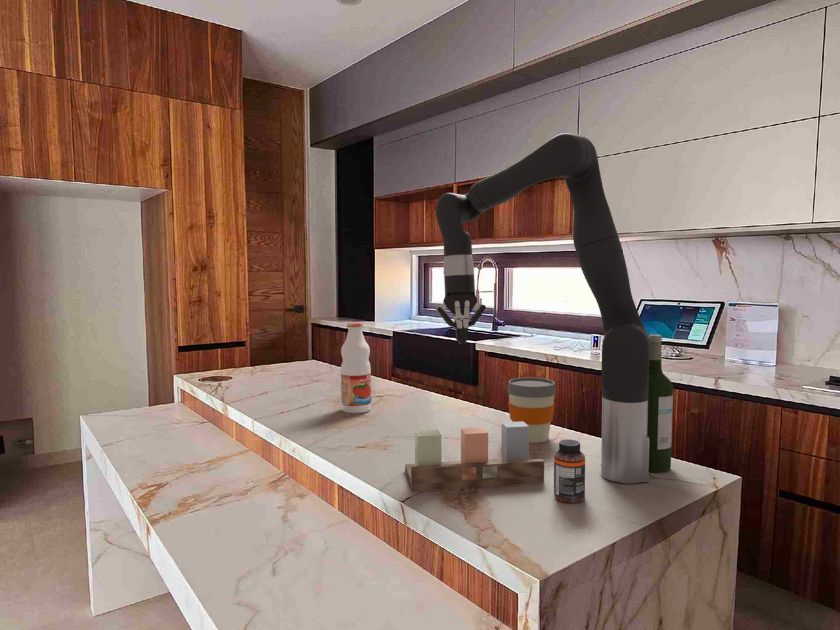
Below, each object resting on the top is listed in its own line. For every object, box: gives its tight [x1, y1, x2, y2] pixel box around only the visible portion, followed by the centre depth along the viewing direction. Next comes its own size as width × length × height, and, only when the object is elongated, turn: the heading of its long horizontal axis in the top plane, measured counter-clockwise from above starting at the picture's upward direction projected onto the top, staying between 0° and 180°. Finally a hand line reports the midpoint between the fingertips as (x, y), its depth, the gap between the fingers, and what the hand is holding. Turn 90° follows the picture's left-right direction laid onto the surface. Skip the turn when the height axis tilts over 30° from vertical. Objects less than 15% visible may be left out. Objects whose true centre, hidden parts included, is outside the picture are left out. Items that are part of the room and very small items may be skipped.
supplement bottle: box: [553, 438, 586, 504], centre depth 112 cm, size 6×6×11 cm
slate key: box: [500, 421, 530, 461], centre depth 127 cm, size 5×4×9 cm
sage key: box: [414, 429, 442, 466], centre depth 121 cm, size 5×4×9 cm
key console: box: [404, 458, 545, 492], centre depth 124 cm, size 28×12×5 cm, turn 98°
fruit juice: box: [340, 321, 372, 414], centre depth 182 cm, size 9×9×28 cm
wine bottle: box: [647, 334, 674, 474], centre depth 128 cm, size 8×8×30 cm
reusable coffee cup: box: [507, 377, 557, 444], centre depth 152 cm, size 13×13×15 cm
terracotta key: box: [460, 427, 489, 464], centre depth 123 cm, size 5×4×9 cm
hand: (462, 343), depth 144 cm, fingers closed
